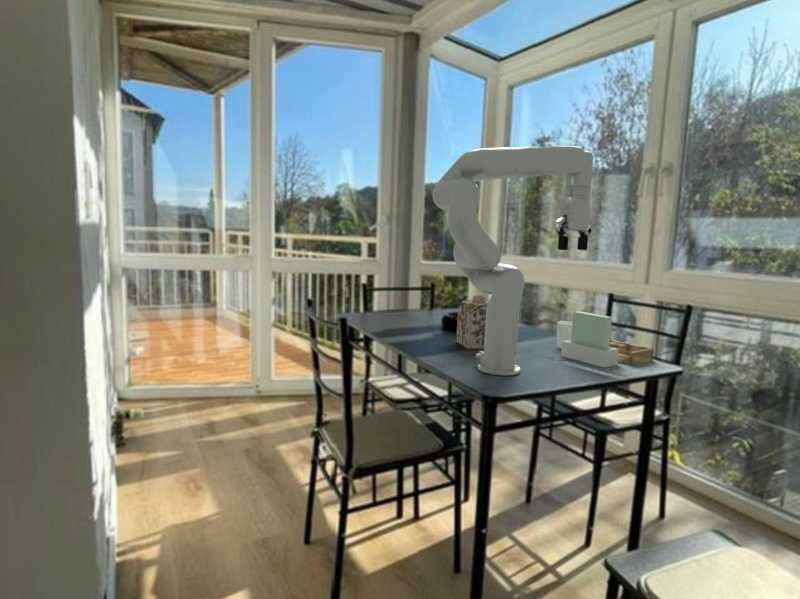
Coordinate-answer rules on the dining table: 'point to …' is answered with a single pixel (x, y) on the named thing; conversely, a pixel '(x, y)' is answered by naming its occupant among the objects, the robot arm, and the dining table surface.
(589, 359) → the holder
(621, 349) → the offcut short
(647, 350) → the rack
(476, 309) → the decorative jar
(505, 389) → the dining table surface
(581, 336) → the tall sheet
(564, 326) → the white cup
